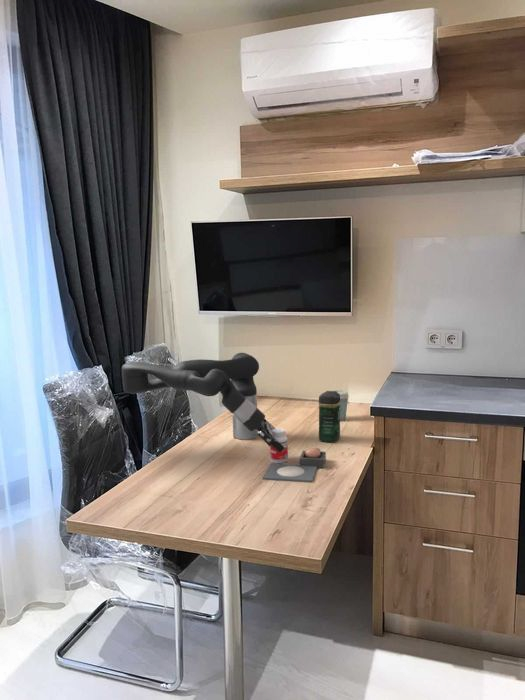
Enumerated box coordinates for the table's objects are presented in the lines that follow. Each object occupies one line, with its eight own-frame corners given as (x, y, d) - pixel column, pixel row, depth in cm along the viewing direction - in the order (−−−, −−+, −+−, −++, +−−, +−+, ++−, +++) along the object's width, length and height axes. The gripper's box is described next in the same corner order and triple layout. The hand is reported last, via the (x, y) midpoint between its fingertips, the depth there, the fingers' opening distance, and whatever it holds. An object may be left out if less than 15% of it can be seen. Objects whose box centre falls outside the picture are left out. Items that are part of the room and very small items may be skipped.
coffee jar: (337, 443, 220) (337, 395, 217) (317, 442, 223) (316, 394, 220) (342, 436, 229) (342, 389, 226) (322, 434, 232) (321, 388, 229)
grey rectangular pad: (262, 479, 188) (262, 477, 188) (270, 464, 200) (270, 462, 200) (312, 482, 184) (312, 480, 184) (317, 467, 197) (317, 465, 197)
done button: (304, 457, 198) (304, 452, 198) (306, 452, 203) (306, 447, 203) (319, 458, 197) (319, 452, 197) (321, 453, 202) (321, 447, 202)
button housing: (299, 466, 198) (299, 458, 197) (303, 458, 205) (302, 450, 205) (323, 468, 196) (323, 459, 196) (325, 459, 204) (325, 451, 203)
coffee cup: (352, 418, 252) (352, 391, 250) (341, 423, 246) (340, 395, 244) (336, 415, 258) (336, 389, 256) (324, 419, 252) (324, 392, 250)
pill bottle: (267, 459, 206) (267, 428, 204) (284, 456, 208) (283, 426, 206) (273, 464, 200) (273, 433, 199) (290, 462, 202) (289, 431, 200)
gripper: (242, 416, 210) (275, 446, 211) (239, 428, 196) (274, 460, 197) (257, 401, 208) (289, 432, 210) (254, 412, 194) (290, 445, 196)
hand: (282, 446), depth 203 cm, fingers open, 8 cm apart
